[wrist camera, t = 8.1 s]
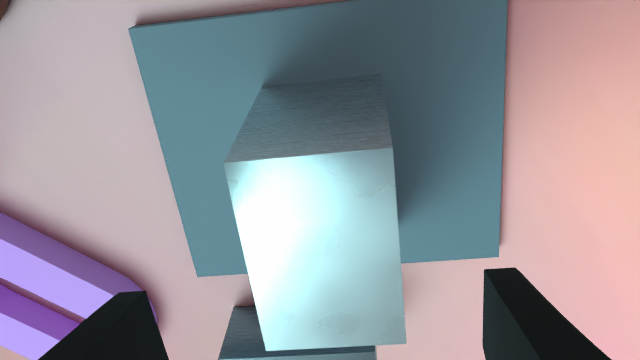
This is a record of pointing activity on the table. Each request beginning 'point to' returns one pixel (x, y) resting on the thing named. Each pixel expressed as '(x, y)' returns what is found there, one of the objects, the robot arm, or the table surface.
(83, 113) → the table surface
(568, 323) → the robot arm
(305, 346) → the steel block
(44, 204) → the table surface
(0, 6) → the supplement bottle
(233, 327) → the vise jaws
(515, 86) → the table surface
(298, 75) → the slate mat
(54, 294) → the bracket
